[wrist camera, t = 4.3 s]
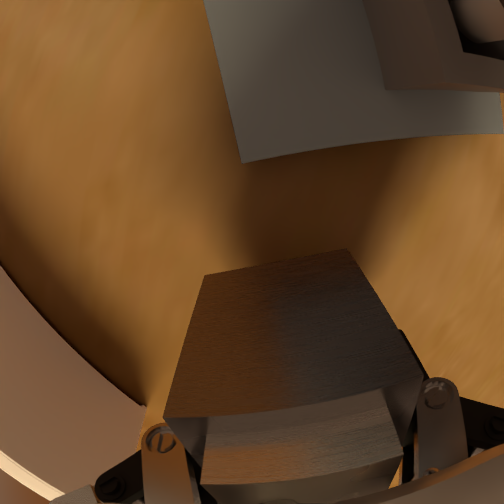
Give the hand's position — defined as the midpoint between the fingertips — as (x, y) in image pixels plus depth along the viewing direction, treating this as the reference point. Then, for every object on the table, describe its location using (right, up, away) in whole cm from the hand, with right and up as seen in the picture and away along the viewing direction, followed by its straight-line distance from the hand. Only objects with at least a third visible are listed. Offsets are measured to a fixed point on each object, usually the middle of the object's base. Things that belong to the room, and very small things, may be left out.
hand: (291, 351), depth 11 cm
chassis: (+2, +19, -3) cm, 19 cm away
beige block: (0, 0, +1) cm, 1 cm away
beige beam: (-16, -2, +6) cm, 17 cm away
